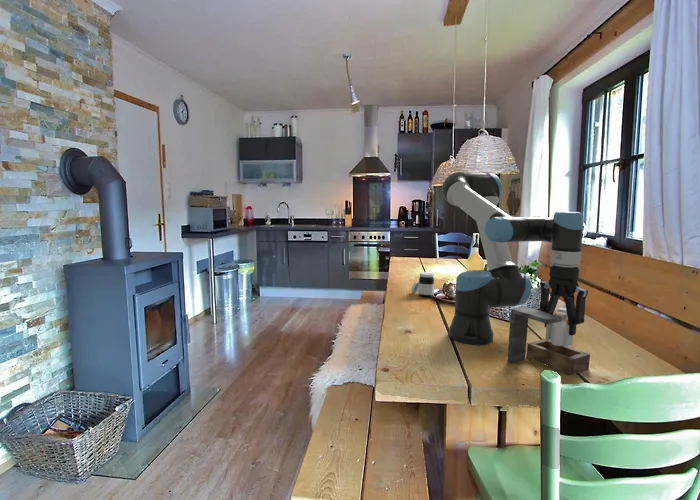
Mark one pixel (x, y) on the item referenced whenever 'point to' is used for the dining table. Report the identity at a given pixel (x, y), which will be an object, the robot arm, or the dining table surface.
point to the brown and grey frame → (542, 344)
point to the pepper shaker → (558, 330)
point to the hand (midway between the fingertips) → (558, 341)
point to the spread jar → (424, 285)
